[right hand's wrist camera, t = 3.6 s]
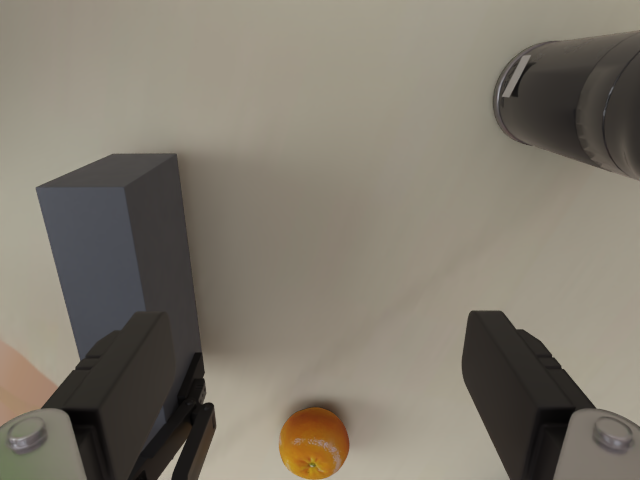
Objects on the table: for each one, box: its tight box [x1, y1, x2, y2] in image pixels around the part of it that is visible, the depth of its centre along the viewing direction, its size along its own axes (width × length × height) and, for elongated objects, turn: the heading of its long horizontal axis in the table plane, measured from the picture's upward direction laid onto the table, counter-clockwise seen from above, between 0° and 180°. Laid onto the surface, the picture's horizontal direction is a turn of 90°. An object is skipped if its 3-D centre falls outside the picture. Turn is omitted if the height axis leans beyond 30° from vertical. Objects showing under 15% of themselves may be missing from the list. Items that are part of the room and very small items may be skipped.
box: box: [36, 154, 202, 459], centre depth 39 cm, size 25×6×12 cm, turn 0°
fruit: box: [279, 407, 349, 480], centre depth 53 cm, size 8×8×8 cm
